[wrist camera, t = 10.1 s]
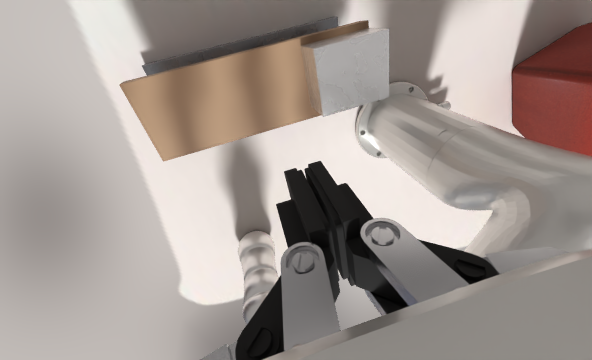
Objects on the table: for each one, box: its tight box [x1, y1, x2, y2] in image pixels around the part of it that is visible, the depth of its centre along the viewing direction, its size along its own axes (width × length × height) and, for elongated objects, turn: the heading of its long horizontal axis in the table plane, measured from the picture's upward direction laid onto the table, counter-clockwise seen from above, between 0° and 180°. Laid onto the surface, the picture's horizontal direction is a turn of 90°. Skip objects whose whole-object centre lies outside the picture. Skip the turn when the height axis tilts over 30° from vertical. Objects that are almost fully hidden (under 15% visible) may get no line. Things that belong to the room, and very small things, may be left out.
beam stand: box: [142, 17, 338, 76], centre depth 31 cm, size 24×9×8 cm, turn 102°
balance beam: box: [120, 21, 369, 162], centre depth 26 cm, size 24×8×2 cm, turn 102°
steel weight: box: [301, 28, 389, 117], centre depth 25 cm, size 7×6×4 cm
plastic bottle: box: [238, 231, 279, 325], centre depth 40 cm, size 6×7×20 cm
